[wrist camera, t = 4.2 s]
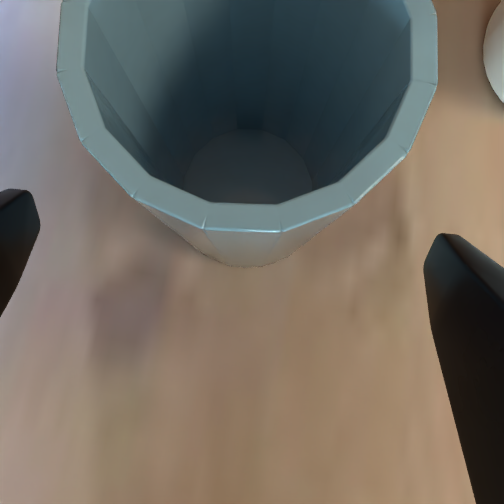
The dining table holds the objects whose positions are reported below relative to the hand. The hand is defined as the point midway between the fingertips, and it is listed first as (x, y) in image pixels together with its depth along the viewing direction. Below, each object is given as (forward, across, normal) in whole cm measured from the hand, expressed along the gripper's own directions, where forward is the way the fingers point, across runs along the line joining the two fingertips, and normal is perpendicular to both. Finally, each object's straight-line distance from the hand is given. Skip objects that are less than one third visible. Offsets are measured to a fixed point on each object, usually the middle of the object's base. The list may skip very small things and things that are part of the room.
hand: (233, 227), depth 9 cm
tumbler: (+9, 0, +5) cm, 11 cm away
